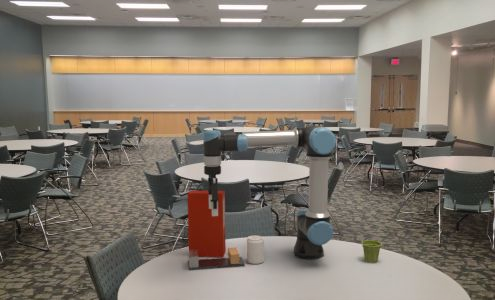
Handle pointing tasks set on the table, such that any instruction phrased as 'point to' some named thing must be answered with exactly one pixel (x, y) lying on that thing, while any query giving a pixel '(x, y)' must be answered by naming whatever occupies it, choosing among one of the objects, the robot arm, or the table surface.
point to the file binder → (206, 225)
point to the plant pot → (371, 250)
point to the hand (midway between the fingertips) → (213, 212)
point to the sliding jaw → (233, 255)
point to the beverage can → (255, 249)
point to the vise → (210, 262)
